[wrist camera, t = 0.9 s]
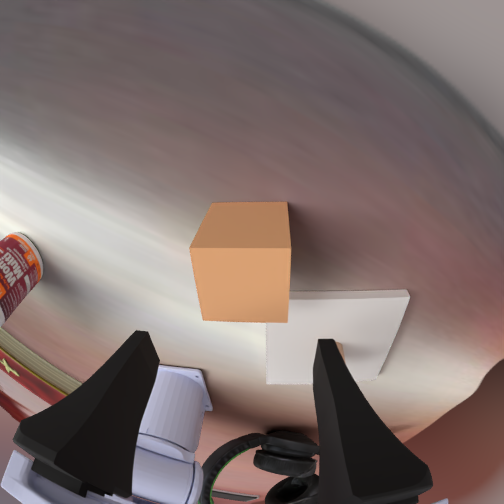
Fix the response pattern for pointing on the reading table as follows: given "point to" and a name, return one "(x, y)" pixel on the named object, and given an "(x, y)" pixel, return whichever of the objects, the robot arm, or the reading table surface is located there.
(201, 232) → the tan wooden cube
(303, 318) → the post plate
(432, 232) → the reading table surface
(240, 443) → the headset
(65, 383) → the hardcover book
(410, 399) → the reading table surface
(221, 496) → the smartphone
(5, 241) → the pill bottle
